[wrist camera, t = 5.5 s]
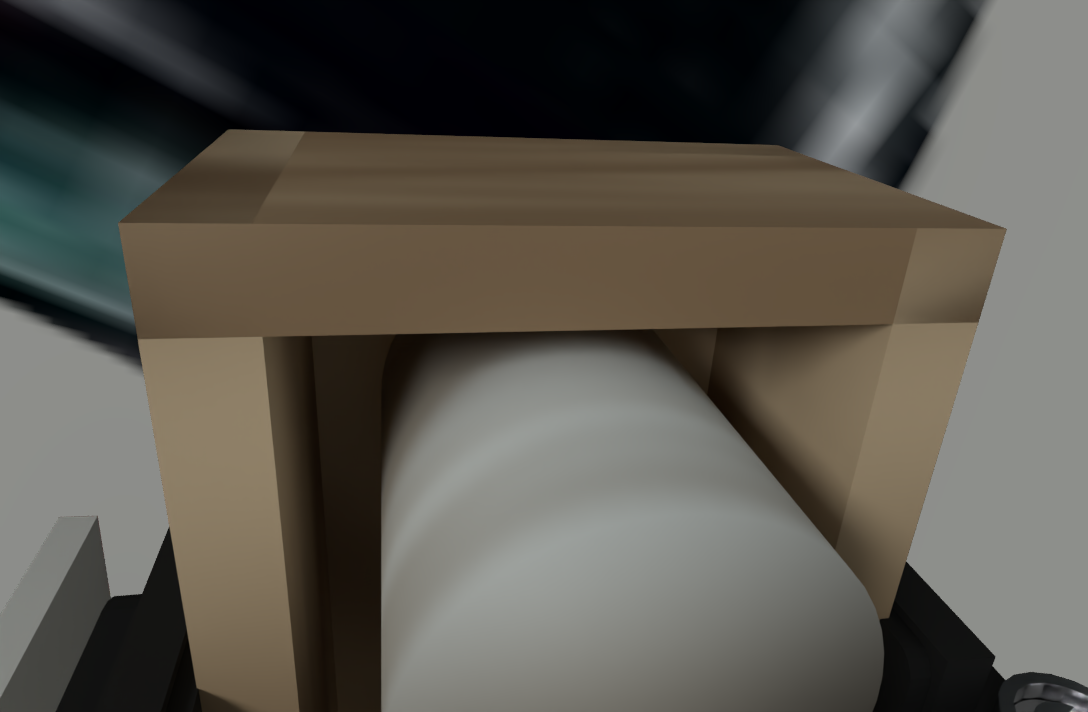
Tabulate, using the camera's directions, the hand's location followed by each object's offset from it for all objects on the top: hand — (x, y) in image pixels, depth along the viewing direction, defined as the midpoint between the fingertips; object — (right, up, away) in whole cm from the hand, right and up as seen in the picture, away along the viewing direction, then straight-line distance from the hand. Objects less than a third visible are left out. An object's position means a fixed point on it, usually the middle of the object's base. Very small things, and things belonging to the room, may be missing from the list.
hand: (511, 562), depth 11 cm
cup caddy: (0, 0, +1) cm, 1 cm away
